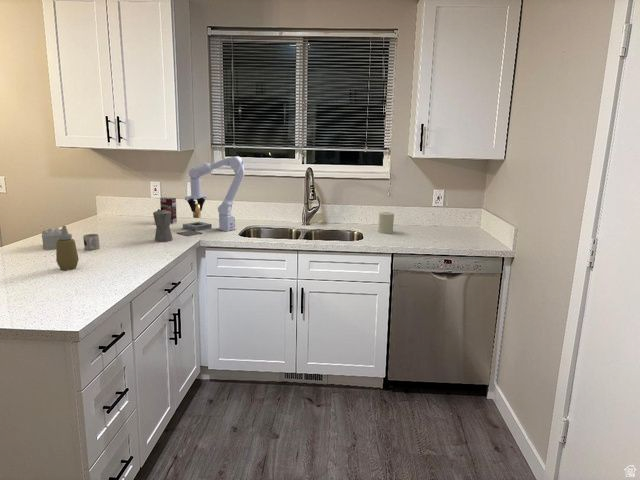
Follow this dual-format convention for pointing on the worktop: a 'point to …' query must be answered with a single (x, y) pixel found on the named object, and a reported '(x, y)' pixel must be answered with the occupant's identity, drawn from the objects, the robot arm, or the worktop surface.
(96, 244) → the mug
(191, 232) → the mat
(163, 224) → the coffeepot
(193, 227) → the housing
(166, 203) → the supplement box
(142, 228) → the worktop surface
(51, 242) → the lumpy-topped squat cylinder
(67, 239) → the squeeze bottle
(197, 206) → the end cap
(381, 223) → the can
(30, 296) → the worktop surface
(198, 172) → the robot arm
